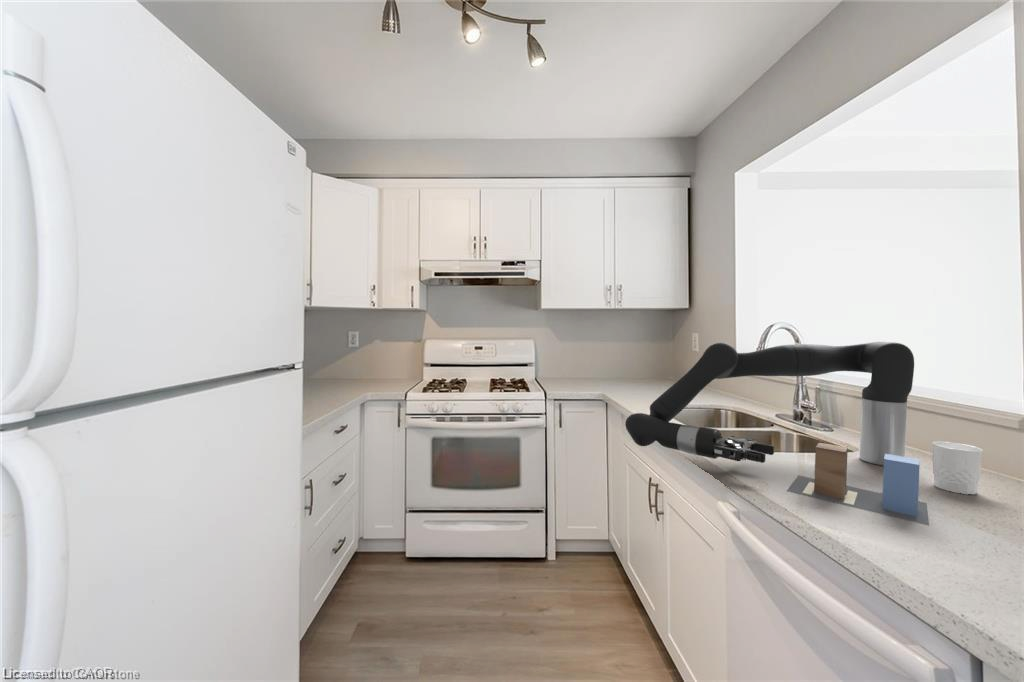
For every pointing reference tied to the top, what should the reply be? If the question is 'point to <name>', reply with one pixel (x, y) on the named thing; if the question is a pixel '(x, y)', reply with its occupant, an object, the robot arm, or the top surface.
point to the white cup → (956, 467)
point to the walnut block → (830, 470)
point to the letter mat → (858, 500)
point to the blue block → (900, 484)
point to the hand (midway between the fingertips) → (769, 454)
